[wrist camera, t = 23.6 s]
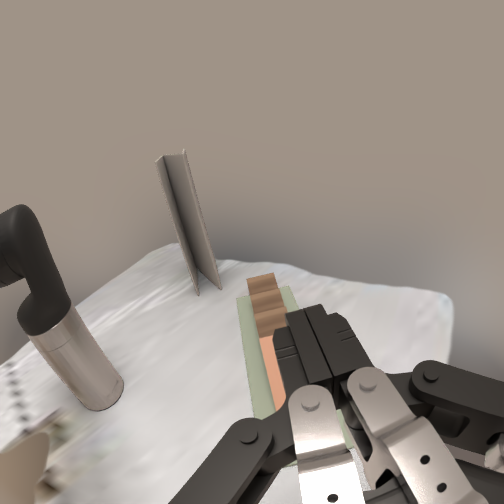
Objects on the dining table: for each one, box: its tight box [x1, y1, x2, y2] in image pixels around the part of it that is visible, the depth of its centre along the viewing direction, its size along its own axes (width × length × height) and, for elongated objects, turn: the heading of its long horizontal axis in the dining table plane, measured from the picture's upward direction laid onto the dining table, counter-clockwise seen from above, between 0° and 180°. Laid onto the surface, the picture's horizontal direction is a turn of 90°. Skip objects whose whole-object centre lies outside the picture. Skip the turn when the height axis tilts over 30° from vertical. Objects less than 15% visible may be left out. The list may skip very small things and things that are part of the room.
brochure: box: [155, 149, 222, 296], centre depth 61 cm, size 14×6×30 cm, turn 13°
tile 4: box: [247, 273, 278, 295], centre depth 49 cm, size 2×5×11 cm
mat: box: [236, 286, 354, 468], centre depth 42 cm, size 36×11×1 cm, turn 7°
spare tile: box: [259, 335, 286, 411], centre depth 35 cm, size 2×5×11 cm
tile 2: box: [254, 306, 288, 338], centre depth 40 cm, size 2×5×11 cm
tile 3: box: [250, 289, 285, 314], centre depth 44 cm, size 2×5×11 cm
